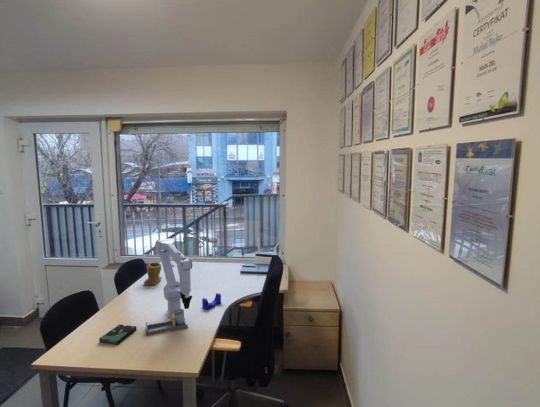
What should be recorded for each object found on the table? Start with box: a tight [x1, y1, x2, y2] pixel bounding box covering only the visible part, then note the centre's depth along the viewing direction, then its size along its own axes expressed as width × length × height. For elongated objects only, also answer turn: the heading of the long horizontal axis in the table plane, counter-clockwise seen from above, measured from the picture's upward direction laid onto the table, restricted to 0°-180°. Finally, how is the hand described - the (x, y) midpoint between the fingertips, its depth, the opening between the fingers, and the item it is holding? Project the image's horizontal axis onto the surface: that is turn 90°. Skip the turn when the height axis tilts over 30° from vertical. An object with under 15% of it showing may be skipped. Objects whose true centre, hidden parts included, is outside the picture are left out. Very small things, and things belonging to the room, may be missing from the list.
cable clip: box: [201, 292, 222, 311], centre depth 193 cm, size 12×4×6 cm, turn 139°
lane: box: [144, 320, 189, 337], centre depth 166 cm, size 8×21×3 cm, turn 114°
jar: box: [174, 308, 186, 326], centre depth 168 cm, size 5×5×7 cm
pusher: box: [171, 314, 175, 326], centre depth 167 cm, size 6×1×5 cm, turn 24°
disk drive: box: [98, 324, 138, 346], centre depth 157 cm, size 10×3×15 cm
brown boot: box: [143, 261, 163, 286], centre depth 234 cm, size 15×12×15 cm
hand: (185, 305), depth 171 cm, fingers open, 7 cm apart
